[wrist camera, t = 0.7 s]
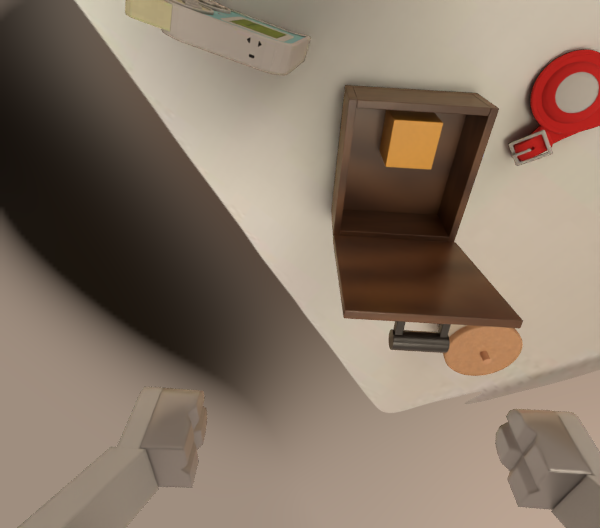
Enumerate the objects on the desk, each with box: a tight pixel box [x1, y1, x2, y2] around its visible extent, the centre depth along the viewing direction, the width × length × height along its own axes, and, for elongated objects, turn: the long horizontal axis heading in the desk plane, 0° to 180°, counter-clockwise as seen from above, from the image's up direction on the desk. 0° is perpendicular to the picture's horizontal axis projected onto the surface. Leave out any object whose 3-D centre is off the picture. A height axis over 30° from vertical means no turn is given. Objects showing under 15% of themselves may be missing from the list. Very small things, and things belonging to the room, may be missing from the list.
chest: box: [331, 85, 499, 242], centre depth 45 cm, size 16×15×6 cm
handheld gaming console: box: [125, 0, 311, 75], centre depth 36 cm, size 11×3×15 cm
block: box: [379, 110, 443, 170], centre depth 43 cm, size 5×5×5 cm
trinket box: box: [443, 324, 522, 376], centre depth 58 cm, size 11×11×9 cm
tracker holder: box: [509, 50, 600, 166], centre depth 42 cm, size 12×4×10 cm
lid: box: [333, 235, 523, 353], centre depth 40 cm, size 16×15×5 cm
